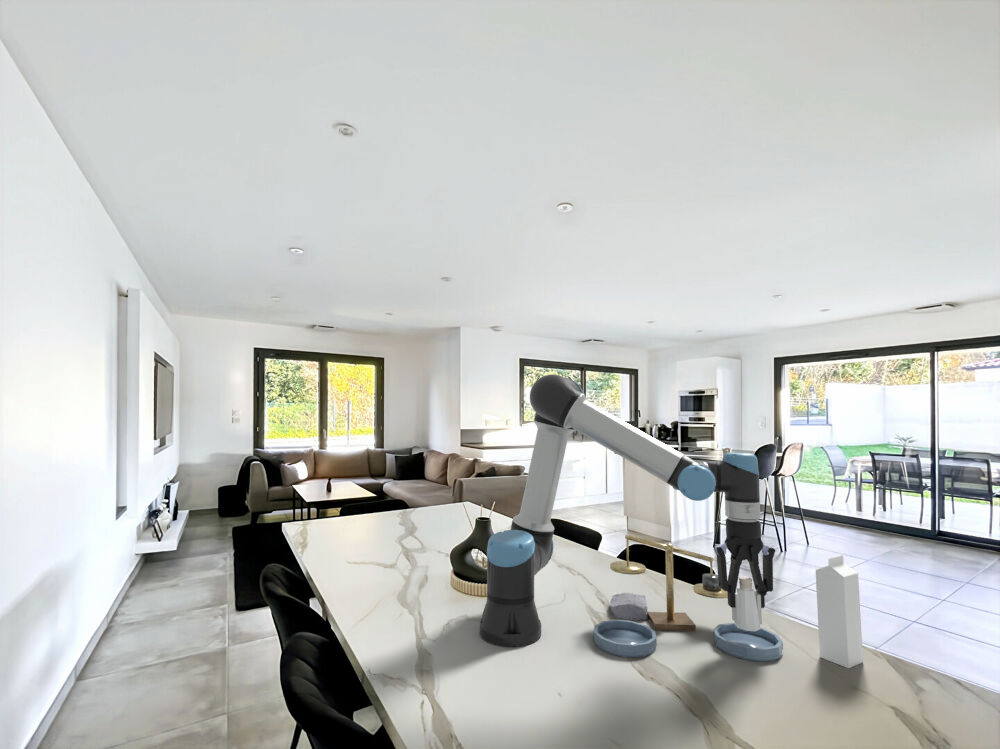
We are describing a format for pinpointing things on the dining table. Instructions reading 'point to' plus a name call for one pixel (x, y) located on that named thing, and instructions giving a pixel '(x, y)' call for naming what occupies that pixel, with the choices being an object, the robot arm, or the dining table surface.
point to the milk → (839, 613)
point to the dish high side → (625, 638)
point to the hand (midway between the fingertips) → (746, 621)
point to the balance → (671, 586)
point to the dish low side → (748, 643)
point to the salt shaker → (747, 606)
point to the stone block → (629, 606)
